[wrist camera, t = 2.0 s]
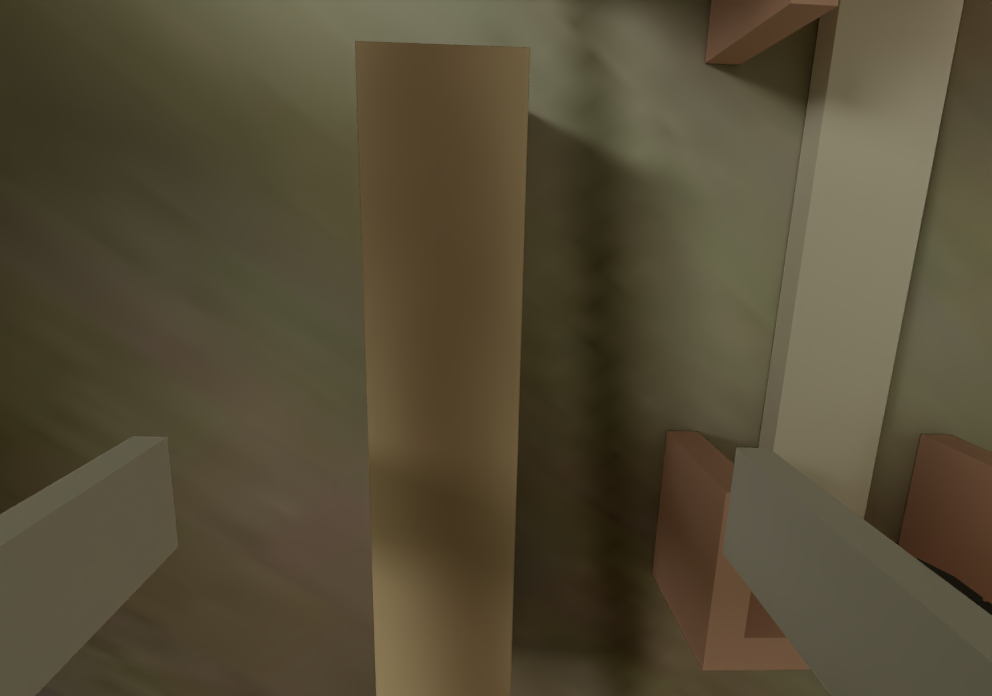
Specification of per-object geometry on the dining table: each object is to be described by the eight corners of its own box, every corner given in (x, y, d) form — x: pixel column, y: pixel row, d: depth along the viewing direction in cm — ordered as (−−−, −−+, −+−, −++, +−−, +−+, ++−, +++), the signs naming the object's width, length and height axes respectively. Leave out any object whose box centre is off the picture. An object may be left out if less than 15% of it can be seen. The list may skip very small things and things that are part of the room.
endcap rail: (652, 573, 22) (702, 670, 17) (727, -156, 17) (831, -310, 12) (919, 573, 23) (1040, 667, 18) (1075, -132, 17) (1310, -270, 13)
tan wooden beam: (402, 619, 23) (378, 756, 17) (391, 100, 18) (355, 41, 12) (498, 618, 23) (508, 753, 17) (511, 104, 19) (530, 47, 13)
